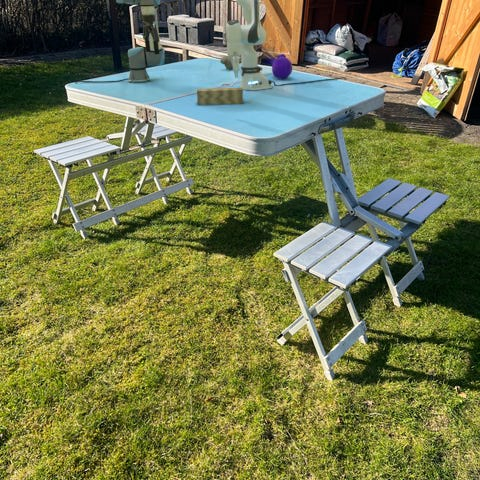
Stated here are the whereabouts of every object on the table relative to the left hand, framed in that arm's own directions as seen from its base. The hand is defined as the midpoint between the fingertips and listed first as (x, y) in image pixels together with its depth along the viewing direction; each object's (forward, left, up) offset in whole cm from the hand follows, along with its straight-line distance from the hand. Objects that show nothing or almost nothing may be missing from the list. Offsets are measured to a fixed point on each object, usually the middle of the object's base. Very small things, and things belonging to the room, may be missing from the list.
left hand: (152, 53), depth 276 cm
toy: (+96, +33, -27) cm, 105 cm away
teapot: (+74, +81, -27) cm, 113 cm away
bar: (+35, -27, -27) cm, 52 cm away
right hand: (+44, -29, -12) cm, 55 cm away
